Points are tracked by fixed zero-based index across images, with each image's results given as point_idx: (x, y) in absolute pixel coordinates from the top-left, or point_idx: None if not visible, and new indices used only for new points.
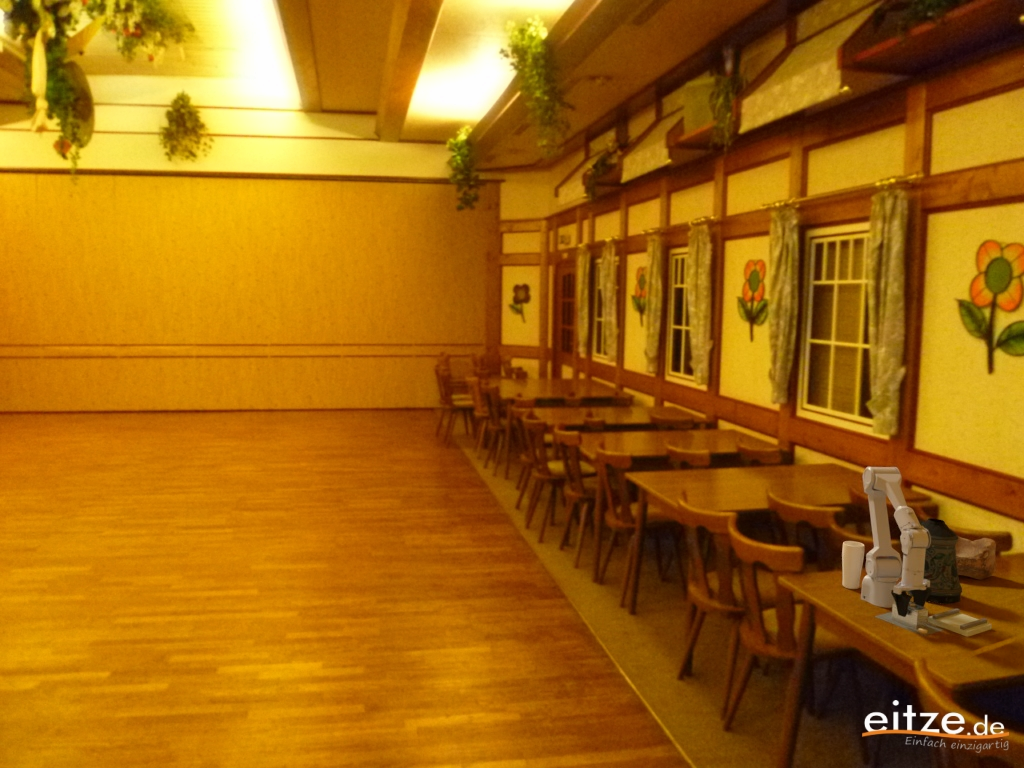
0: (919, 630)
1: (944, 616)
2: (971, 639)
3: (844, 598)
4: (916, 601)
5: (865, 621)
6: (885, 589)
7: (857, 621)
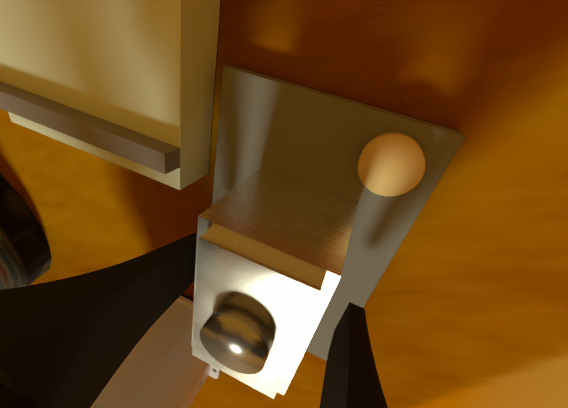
0: (417, 183)
1: (101, 120)
2: None
3: (225, 398)
4: (157, 303)
5: (380, 374)
6: (154, 405)
7: (404, 397)
